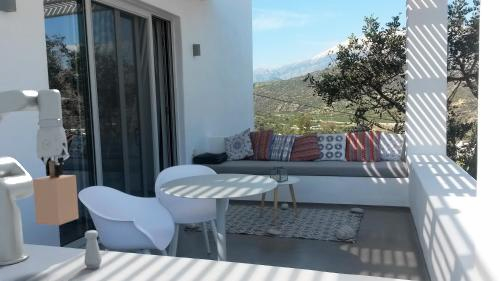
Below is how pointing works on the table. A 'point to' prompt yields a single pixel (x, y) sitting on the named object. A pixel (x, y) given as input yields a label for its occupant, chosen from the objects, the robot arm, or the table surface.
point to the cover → (55, 198)
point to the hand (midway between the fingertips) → (54, 175)
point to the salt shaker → (92, 250)
